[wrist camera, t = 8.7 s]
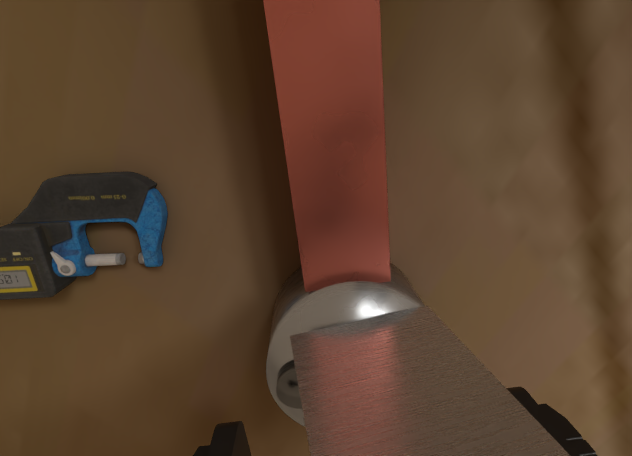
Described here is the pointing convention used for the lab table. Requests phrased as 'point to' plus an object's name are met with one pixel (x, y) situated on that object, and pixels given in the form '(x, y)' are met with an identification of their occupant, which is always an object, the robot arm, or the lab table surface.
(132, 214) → the micrometer
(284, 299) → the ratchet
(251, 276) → the lab table surface
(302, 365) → the cube with square hole
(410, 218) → the lab table surface
